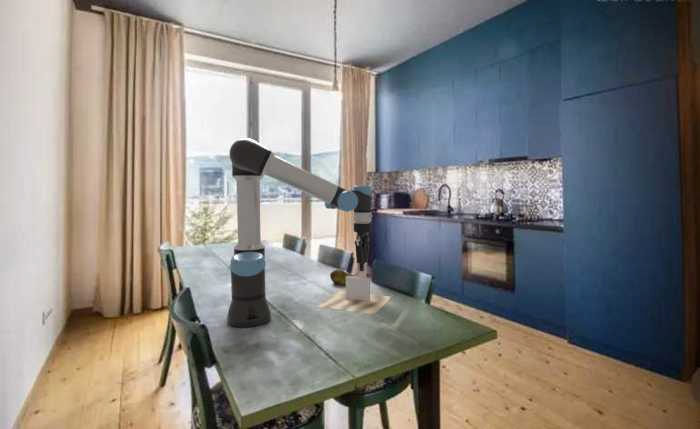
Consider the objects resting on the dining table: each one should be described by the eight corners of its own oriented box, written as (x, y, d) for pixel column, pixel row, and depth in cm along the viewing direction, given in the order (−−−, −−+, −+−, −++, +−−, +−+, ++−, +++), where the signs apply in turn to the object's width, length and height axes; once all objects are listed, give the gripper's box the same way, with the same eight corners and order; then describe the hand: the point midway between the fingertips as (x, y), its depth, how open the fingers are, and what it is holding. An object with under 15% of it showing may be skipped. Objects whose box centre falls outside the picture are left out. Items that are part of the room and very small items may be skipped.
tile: (345, 298, 147) (345, 276, 146) (347, 297, 149) (347, 275, 148) (368, 301, 143) (368, 279, 143) (370, 299, 145) (370, 278, 144)
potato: (352, 291, 162) (352, 273, 162) (327, 287, 168) (327, 270, 167) (360, 286, 170) (360, 269, 169) (336, 283, 175) (336, 267, 175)
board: (315, 310, 138) (315, 306, 137) (338, 294, 158) (338, 290, 158) (375, 318, 129) (375, 314, 129) (391, 300, 149) (391, 296, 149)
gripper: (366, 224, 142) (366, 282, 144) (375, 221, 154) (375, 275, 156) (348, 223, 144) (348, 281, 146) (359, 220, 156) (359, 273, 158)
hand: (362, 278), depth 151 cm, fingers closed
